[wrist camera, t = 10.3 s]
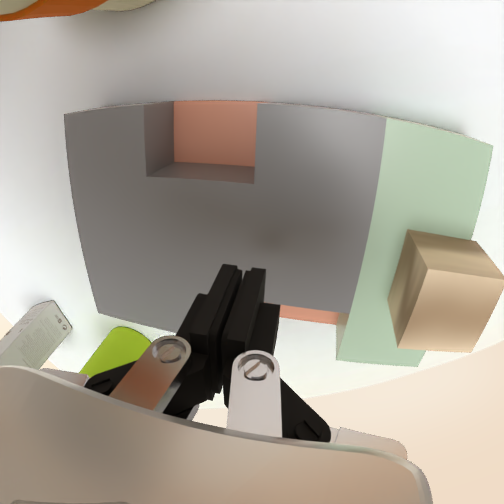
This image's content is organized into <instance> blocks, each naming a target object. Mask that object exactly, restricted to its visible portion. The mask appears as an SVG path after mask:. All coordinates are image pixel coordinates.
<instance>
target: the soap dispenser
mask: <svg viewBox="0 0 504 504" xmlns="http://www.w3.org/2000/svg"><path fill="white" fill-rule="evenodd" d="M150 344H151V342H150V341H149V340H148V339H147V338H146V337H144V336H143V335H142V334H140V333H139V332H137V331H135V330H133V329H130V328H126V327H116V328H114V329H113V330H112V331H111V332H110V333H109V334H108V336H107V337H106V338H105V340H104V341H103V342H102V343H101V345H100V346H99V347H98V349H97V350H96V351H95V352H94V354H93V355H92V356H91V358H90V359H89V360H88V362H87V363H86V364H85V366H84V367H83V368H82V370H81V371H80V372H79V373H81V374H88V376H89V377H90V378H91V377H92V376H94V375H96V374H98V373H101V372H104V371H107V370H110V369H113V368H116V367H119V366H122V365H124V364H127V363H130V362H133V361H136V360H138V359H139V358H140V357H141V355H142V354H143V353H144V352H145V350H146V349H147V348H148V347H149V346H150Z"/></svg>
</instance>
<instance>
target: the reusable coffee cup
mask: <svg viewBox="0 0 504 504" xmlns="http://www.w3.org/2000/svg"><path fill="white" fill-rule="evenodd" d="M154 1H155V0H0V21H13V20H21V19H30V18H40V17H55V16H71V15H75V14H80V13H84V12H86V11H88V10H110V11H127V10H133V9H136V8H140V7H143V6H145V5H147V4H149V3H152V2H154Z"/></svg>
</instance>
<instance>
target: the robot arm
mask: <svg viewBox="0 0 504 504" xmlns="http://www.w3.org/2000/svg"><path fill="white" fill-rule="evenodd" d="M265 280H266V269H262V268H254V267H252V268H251V271H248V270H246V271H245V274H244V276H243V279H242V270H240V269H238V267H237V265H230V264H222V266H221V268H220V270H219V272H218V274H217V276H216V278H215V280H214V282H213V284H212V286H211V288H210V291H209V293H208V294H202V293H199V294H197V296H196V298H195V300H194V301H193V303H192V305H191V307H190V309H189V311H188V313H187V315H186V317H185V318H184V320H183V322H182V324H181V326H180V328H179V330H178V332H177V334H176V336H174V335H171V336H163V337H160V338H158V339H156V340H155V341H153V342H152V343H151V344H150V346H149V347H148V348H147V349H146V350H145V352H144V353H143V354H142V355H141V357H140V358H139V359H138V360H136V361H133V362H130V363H127V364H124V365H122V366H119V367H116V368H113V369H110V370H107V371H104V372H101V373H98V374H96V375H94V376H92V377H91V378H90V377H89V376H88V374H81V373H74V372H67V371H61V370H55V369H48V368H43V369H40V370H37V369H33V368H29V367H24V366H13V365H6V366H0V504H433V501H432V495H431V491H430V487H429V484H428V481H427V478H426V477H425V475H424V473H423V472H422V470H421V469H419V467H418V466H416V465H415V464H413V463H412V462H410V461H408V460H407V451H406V449H405V447H404V446H403V445H402V444H401V443H400V442H398V441H396V440H393V439H389V438H384V437H379V436H375V435H371V434H366V433H362V432H358V431H354V430H350V429H346V428H342V427H340V429H339V430H338V429H335V428H331V427H329V426H328V425H327V423H326V422H325V421H324V420H323V419H322V418H321V417H320V416H319V415H318V414H317V413H316V412H315V411H314V410H313V409H312V408H311V407H310V406H309V405H307V404H306V403H305V402H304V401H303V400H302V399H301V398H300V397H299V396H298V395H297V394H296V393H295V392H294V391H293V390H292V389H291V388H290V387H289V386H288V385H287V384H286V383H285V382H284V381H283V380H282V379H281V378H280V368H279V364H278V361H277V360H276V359H275V357H273V355H274V349H275V344H276V338H277V331H278V324H279V316H280V307H281V305H280V304H272V303H264V294H265ZM222 386H223V393H224V404H225V405H226V407H227V408H228V419H227V429H226V428H221V427H216V426H212V425H207V424H203V423H198V422H194V421H192V420H193V418H194V416H195V414H196V413H197V411H198V408H199V404H200V403H202V402H204V401H206V400H212V401H213V398H214V395H215V393H218V394H220V392H221V389H222Z"/></svg>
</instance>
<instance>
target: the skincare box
mask: <svg viewBox="0 0 504 504" xmlns="http://www.w3.org/2000/svg"><path fill="white" fill-rule="evenodd" d="M71 330H72V328H71V326H70V324H69V323H68V321H67V320H66V318H65V317H64V315H63V314H62V312H61V311H60V309H59V308H58V306H57V305H56V304H55V302H54V301H49V302H44V303H41V304H38V305H36V306H34V307H32V308H31V309H30V310H29V311H28V312H27V313H26V314H25V315H24V316H23V317H22V318H21V319H20V320H19V321H18V322H17V323H16V324H15V325H14V326H13V327H12V328H11V329H10V331H9V332H8V333H7V334H6V335H5V336H4V337H3V338H2V339H1V340H0V366H6V365H13V366H24V367H29V368H33V369H37V370H39V369H40V367H41V366H42V365H43V364H44V363H45V361H46V360H47V359H48V358H49V356H50V355H51V354H52V353H53V352H54V350H55V349H56V348H57V347H58V346H59V345H60V343H61V342H62V341H63V340H64V339H65V337H66V336H67V335H68V334H69V333H70V331H71Z"/></svg>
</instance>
